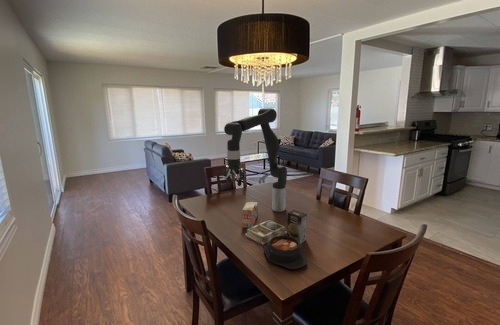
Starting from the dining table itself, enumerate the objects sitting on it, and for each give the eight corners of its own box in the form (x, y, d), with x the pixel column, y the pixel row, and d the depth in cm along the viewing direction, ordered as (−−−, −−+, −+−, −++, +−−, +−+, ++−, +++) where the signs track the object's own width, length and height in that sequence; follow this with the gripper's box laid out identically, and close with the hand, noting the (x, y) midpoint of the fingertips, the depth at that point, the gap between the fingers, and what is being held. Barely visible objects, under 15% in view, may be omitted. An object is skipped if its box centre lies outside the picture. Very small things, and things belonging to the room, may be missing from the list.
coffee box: (286, 238, 145) (287, 212, 142) (292, 234, 150) (293, 209, 147) (300, 244, 139) (301, 217, 136) (306, 240, 144) (307, 213, 141)
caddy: (268, 224, 163) (268, 217, 162) (286, 233, 152) (287, 225, 151) (245, 235, 150) (245, 227, 149) (263, 245, 139) (263, 236, 138)
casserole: (255, 251, 133) (255, 236, 131) (283, 241, 142) (283, 228, 140) (285, 278, 112) (286, 260, 110) (316, 264, 121) (317, 248, 120)
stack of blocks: (249, 214, 180) (249, 197, 178) (258, 214, 179) (258, 198, 176) (242, 227, 160) (242, 209, 157) (252, 228, 158) (252, 209, 156)
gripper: (247, 158, 146) (247, 185, 149) (230, 155, 155) (230, 180, 159) (237, 160, 140) (238, 188, 144) (220, 157, 150) (221, 183, 153)
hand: (234, 184), depth 151 cm, fingers open, 8 cm apart
